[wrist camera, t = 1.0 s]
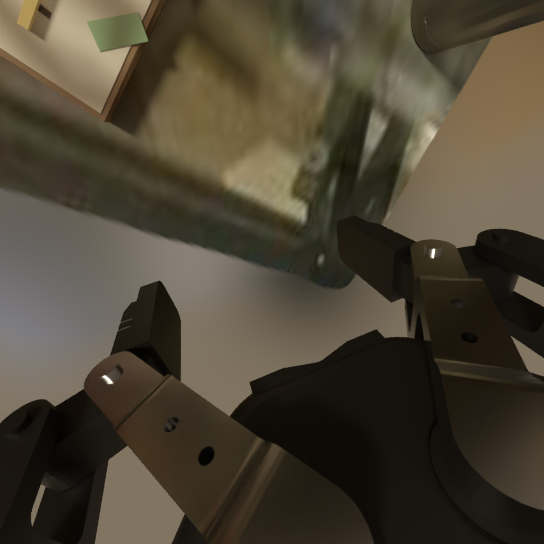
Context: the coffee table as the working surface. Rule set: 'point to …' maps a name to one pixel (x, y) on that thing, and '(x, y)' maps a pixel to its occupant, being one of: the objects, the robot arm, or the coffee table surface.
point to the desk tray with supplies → (81, 46)
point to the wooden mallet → (28, 13)
